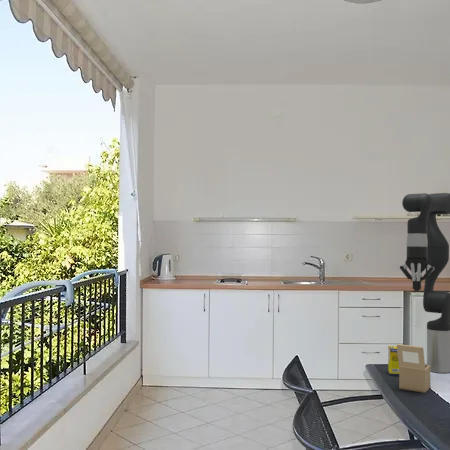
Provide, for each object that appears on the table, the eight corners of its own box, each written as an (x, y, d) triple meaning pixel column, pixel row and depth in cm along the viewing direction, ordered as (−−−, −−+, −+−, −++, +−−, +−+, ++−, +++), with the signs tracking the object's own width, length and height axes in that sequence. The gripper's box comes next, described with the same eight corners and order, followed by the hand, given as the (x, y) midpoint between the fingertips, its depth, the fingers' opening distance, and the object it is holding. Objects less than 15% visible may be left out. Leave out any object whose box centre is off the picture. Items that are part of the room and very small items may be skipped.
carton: (405, 383, 198) (405, 362, 198) (430, 387, 193) (430, 365, 193) (399, 388, 190) (399, 366, 191) (425, 392, 186) (425, 370, 186)
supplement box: (405, 376, 208) (405, 349, 209) (389, 375, 210) (389, 348, 210) (403, 373, 214) (403, 346, 215) (387, 372, 215) (388, 345, 216)
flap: (397, 343, 188) (396, 344, 187) (423, 346, 183) (422, 348, 183) (399, 365, 191) (398, 366, 190) (425, 368, 186) (424, 369, 185)
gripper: (437, 245, 200) (437, 291, 199) (401, 245, 207) (401, 289, 206) (433, 245, 193) (433, 292, 193) (396, 245, 200) (396, 290, 200)
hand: (416, 290), depth 199 cm, fingers closed
